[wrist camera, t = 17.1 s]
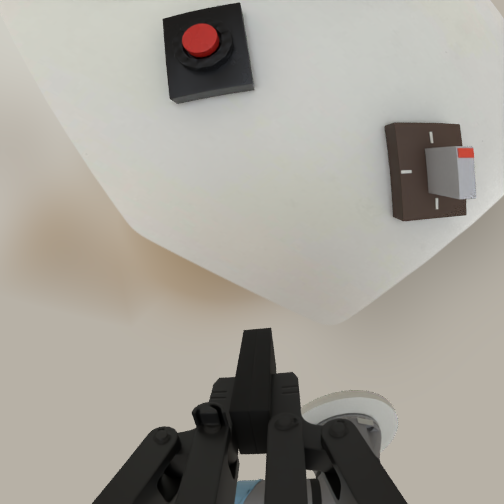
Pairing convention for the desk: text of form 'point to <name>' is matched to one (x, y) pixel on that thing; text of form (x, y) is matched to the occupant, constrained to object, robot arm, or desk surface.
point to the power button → (200, 40)
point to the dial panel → (419, 170)
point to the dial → (451, 171)
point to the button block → (213, 66)
